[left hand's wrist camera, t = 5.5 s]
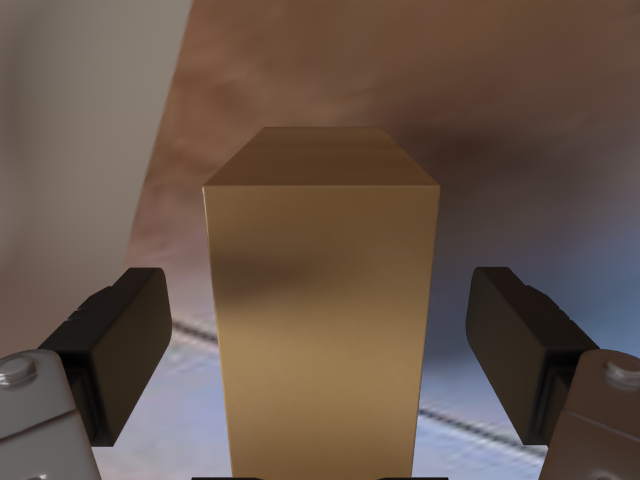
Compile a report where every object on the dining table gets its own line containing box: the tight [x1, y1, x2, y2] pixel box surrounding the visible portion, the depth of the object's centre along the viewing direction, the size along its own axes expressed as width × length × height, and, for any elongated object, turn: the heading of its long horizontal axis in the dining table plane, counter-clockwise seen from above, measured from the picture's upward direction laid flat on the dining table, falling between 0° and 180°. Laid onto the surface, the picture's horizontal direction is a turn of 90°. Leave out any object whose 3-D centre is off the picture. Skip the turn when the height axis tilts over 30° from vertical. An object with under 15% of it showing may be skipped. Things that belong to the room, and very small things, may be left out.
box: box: [202, 127, 441, 480], centre depth 20 cm, size 20×6×12 cm, turn 0°
